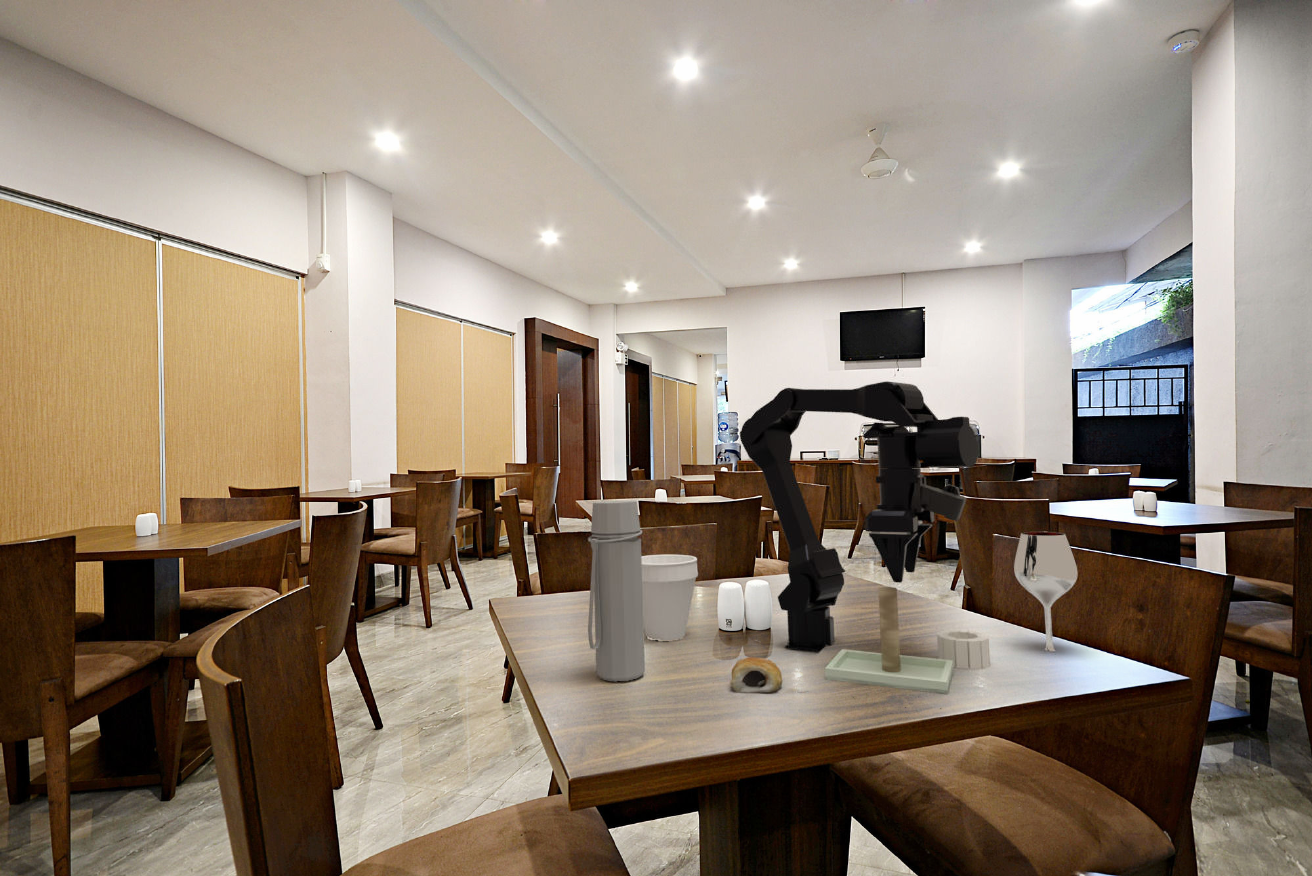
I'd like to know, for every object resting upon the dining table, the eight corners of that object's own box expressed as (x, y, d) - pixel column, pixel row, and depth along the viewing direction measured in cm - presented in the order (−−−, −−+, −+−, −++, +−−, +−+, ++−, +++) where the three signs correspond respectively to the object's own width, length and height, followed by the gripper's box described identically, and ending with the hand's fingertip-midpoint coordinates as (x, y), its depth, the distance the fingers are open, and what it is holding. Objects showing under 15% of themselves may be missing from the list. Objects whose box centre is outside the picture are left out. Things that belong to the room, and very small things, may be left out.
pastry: (735, 672, 95) (734, 645, 96) (782, 674, 94) (782, 647, 94) (730, 694, 86) (729, 664, 86) (782, 696, 85) (781, 666, 85)
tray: (825, 684, 88) (824, 668, 88) (842, 664, 97) (841, 649, 97) (947, 700, 81) (946, 682, 81) (954, 676, 90) (953, 660, 90)
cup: (637, 628, 123) (634, 554, 124) (702, 628, 122) (700, 553, 122) (624, 645, 111) (622, 564, 112) (697, 646, 109) (694, 563, 110)
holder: (937, 671, 92) (935, 638, 92) (941, 658, 98) (939, 627, 98) (989, 676, 89) (987, 643, 89) (991, 663, 95) (989, 631, 95)
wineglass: (1093, 663, 93) (1084, 536, 94) (1030, 662, 95) (1022, 536, 96) (1069, 648, 101) (1061, 530, 102) (1011, 647, 103) (1004, 531, 104)
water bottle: (621, 664, 100) (617, 500, 101) (658, 674, 95) (652, 500, 96) (573, 679, 94) (568, 503, 95) (609, 691, 88) (604, 504, 89)
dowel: (880, 671, 89) (876, 589, 90) (883, 666, 91) (879, 586, 92) (899, 673, 88) (895, 590, 89) (902, 668, 90) (898, 587, 91)
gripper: (951, 468, 83) (957, 592, 83) (967, 466, 99) (973, 570, 98) (861, 470, 89) (866, 586, 88) (890, 468, 105) (895, 566, 104)
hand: (904, 576), depth 95 cm, fingers open, 9 cm apart
